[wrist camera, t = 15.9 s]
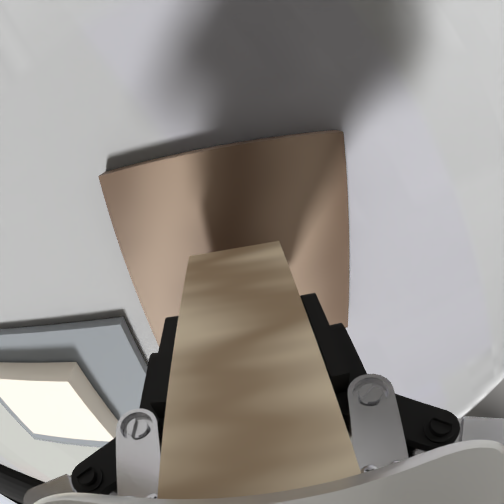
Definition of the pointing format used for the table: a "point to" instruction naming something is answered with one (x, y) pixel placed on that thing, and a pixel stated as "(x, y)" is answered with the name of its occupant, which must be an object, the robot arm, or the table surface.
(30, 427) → the tile
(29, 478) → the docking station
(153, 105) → the table surface
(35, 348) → the mat
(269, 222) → the plate
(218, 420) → the block
